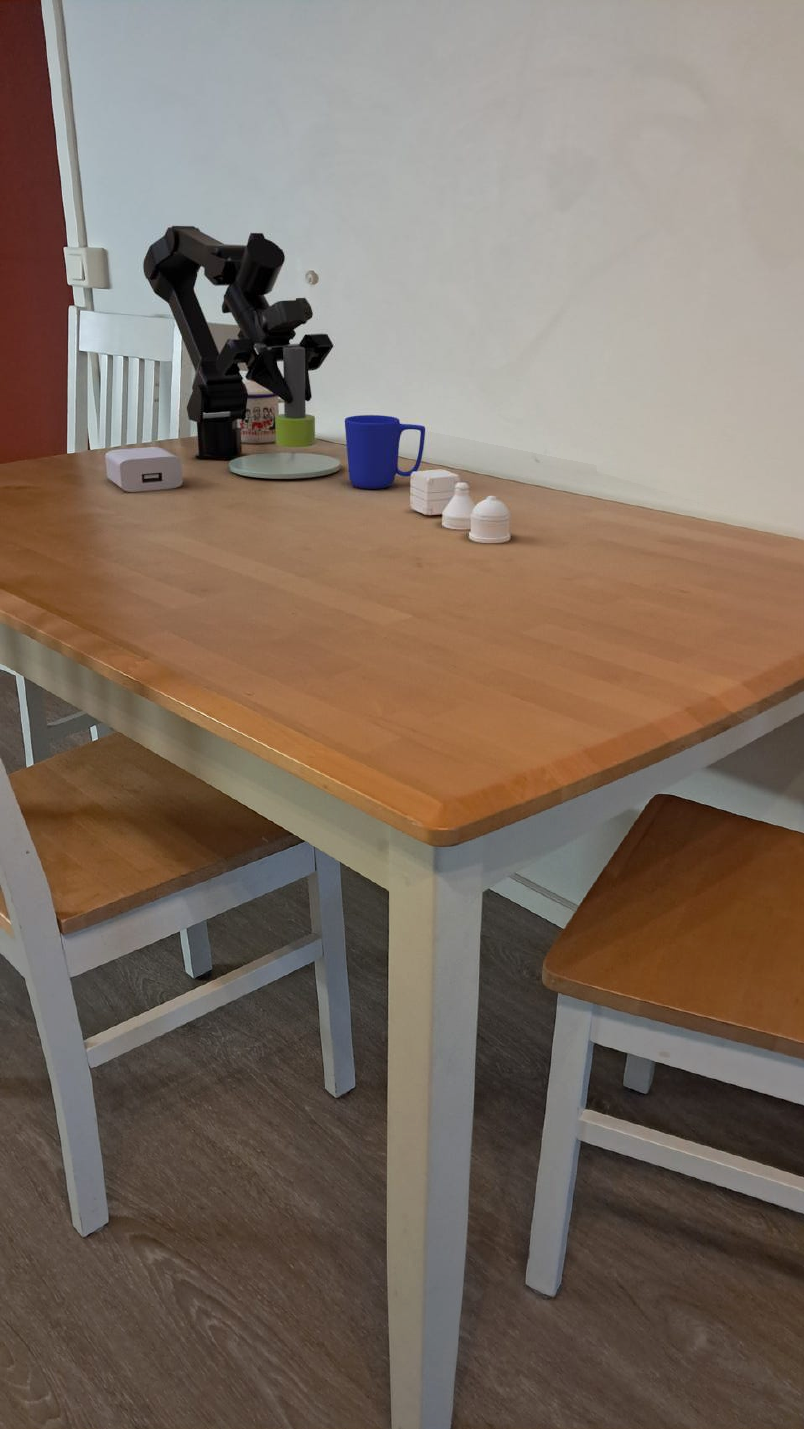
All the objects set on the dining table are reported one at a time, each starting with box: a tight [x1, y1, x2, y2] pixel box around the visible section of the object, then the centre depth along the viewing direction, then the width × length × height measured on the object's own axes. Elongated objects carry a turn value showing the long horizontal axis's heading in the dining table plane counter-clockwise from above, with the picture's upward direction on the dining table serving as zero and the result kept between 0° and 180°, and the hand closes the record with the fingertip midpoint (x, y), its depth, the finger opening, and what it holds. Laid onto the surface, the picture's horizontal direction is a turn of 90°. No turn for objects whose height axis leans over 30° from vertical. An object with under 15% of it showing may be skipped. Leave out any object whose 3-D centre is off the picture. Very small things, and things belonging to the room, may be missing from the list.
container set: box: [409, 468, 511, 544], centre depth 140 cm, size 20×5×6 cm, turn 27°
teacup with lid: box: [237, 380, 284, 445], centre depth 197 cm, size 12×9×12 cm
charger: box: [104, 446, 184, 493], centre depth 164 cm, size 5×9×15 cm
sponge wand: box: [275, 346, 316, 448], centre depth 161 cm, size 6×6×14 cm
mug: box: [344, 414, 426, 490], centre depth 161 cm, size 8×12×10 cm
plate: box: [228, 452, 341, 480], centre depth 173 cm, size 18×18×1 cm
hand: (300, 400), depth 160 cm, fingers closed on sponge wand, 3 cm apart
